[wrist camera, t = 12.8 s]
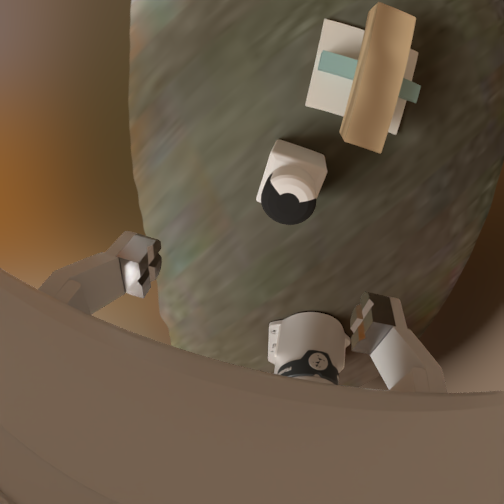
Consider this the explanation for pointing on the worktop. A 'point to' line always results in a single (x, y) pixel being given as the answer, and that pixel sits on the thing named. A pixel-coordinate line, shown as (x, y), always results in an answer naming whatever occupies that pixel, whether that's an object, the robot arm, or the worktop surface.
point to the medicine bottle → (291, 182)
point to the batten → (378, 77)
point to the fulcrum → (349, 72)
